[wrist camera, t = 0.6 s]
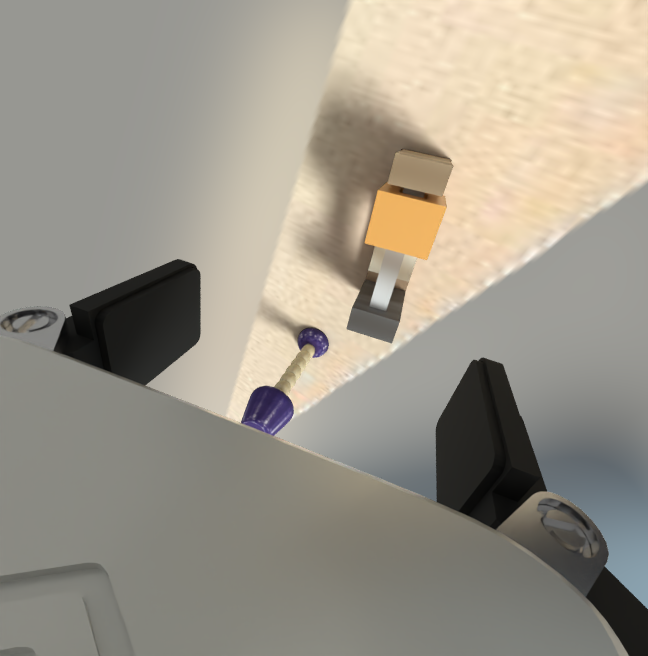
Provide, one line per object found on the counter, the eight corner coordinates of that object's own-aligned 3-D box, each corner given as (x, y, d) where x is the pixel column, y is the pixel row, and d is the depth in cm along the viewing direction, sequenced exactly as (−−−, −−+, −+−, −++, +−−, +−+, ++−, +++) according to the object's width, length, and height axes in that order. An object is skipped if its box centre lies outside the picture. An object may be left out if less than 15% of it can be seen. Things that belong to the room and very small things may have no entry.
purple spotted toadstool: (290, 339, 44) (224, 431, 30) (306, 316, 41) (243, 406, 28) (318, 360, 44) (266, 460, 31) (336, 338, 42) (288, 437, 28)
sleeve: (386, 182, 28) (377, 190, 23) (444, 196, 27) (446, 206, 23) (374, 228, 30) (364, 243, 26) (427, 242, 29) (426, 260, 25)
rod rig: (402, 148, 29) (392, 152, 22) (450, 159, 29) (456, 166, 22) (362, 293, 38) (346, 329, 31) (399, 304, 37) (391, 343, 30)
